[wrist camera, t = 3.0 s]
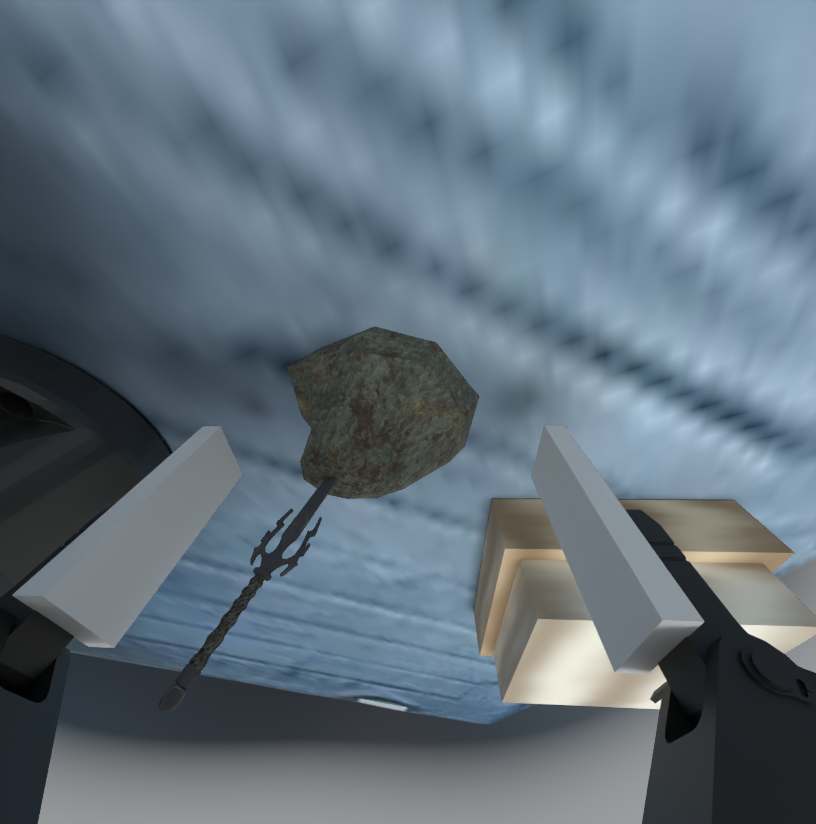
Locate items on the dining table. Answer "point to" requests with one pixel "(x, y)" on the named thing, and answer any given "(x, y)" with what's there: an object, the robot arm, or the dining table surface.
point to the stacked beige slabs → (569, 617)
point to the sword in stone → (359, 441)
